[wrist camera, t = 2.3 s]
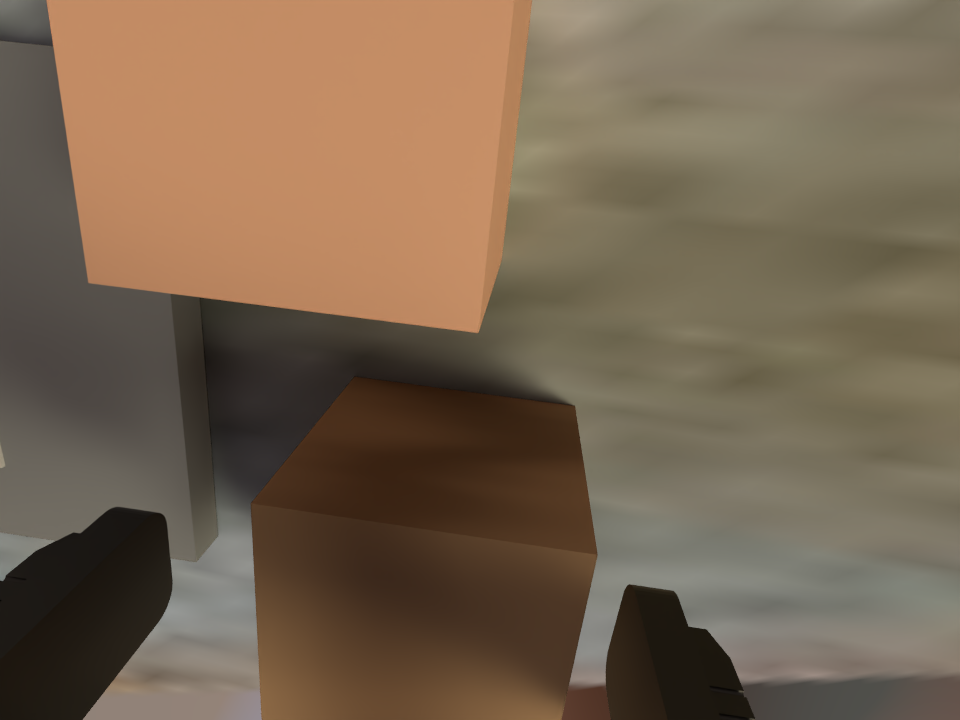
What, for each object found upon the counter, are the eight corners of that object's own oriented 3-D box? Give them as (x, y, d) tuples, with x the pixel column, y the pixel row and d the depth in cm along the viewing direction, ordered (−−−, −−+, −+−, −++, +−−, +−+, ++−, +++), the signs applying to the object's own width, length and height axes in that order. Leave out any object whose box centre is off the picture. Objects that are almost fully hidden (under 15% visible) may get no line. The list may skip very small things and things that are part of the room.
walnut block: (574, 404, 12) (597, 554, 8) (542, 581, 14) (545, 789, 10) (355, 374, 13) (250, 503, 8) (351, 551, 14) (262, 741, 10)
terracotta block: (534, -24, 10) (534, -190, 5) (501, 260, 11) (479, 333, 7) (257, -51, 10) (12, -231, 5) (266, 231, 12) (88, 282, 7)
